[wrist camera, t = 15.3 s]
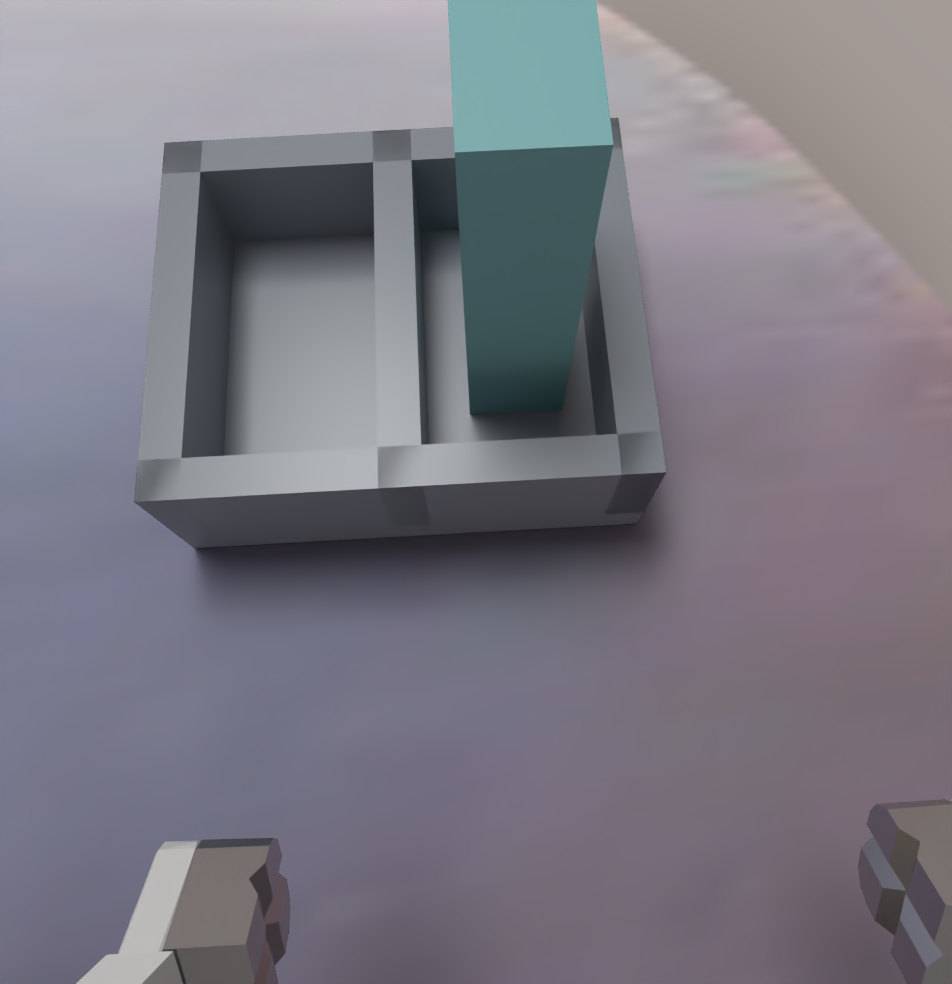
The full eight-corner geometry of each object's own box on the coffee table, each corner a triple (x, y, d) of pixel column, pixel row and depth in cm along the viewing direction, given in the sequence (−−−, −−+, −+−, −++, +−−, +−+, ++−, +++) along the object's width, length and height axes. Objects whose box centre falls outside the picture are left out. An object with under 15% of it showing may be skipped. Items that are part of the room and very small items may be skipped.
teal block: (469, 414, 23) (455, 152, 13) (464, 287, 24) (445, -36, 14) (561, 409, 23) (613, 144, 13) (550, 282, 24) (591, -44, 14)
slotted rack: (194, 548, 22) (134, 501, 19) (212, 235, 26) (164, 142, 22) (636, 523, 22) (666, 472, 19) (599, 214, 26) (617, 118, 22)
